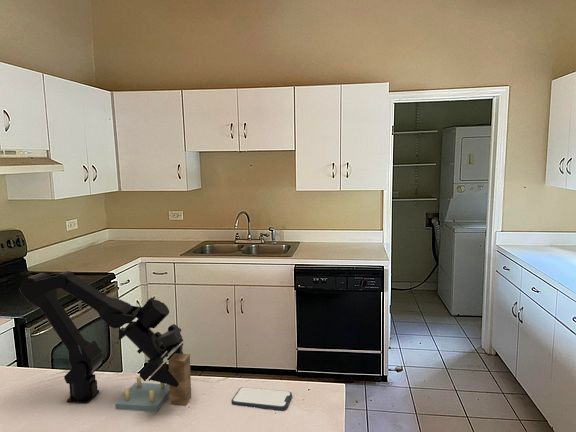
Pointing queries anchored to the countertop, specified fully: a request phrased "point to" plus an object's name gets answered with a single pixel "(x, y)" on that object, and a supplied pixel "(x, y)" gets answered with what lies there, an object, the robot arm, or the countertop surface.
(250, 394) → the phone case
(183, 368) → the walnut block
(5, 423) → the countertop surface
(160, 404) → the pegged blue base plate
